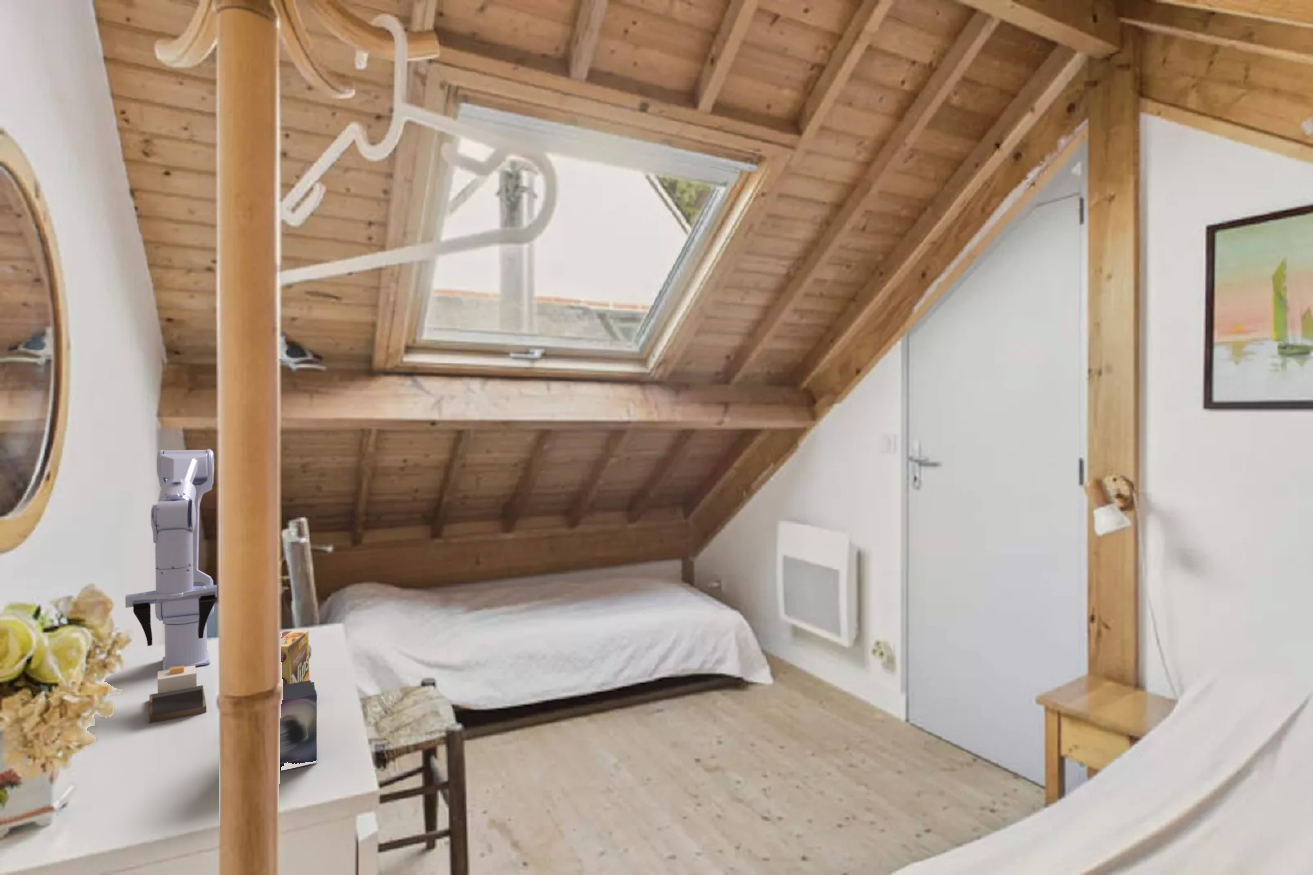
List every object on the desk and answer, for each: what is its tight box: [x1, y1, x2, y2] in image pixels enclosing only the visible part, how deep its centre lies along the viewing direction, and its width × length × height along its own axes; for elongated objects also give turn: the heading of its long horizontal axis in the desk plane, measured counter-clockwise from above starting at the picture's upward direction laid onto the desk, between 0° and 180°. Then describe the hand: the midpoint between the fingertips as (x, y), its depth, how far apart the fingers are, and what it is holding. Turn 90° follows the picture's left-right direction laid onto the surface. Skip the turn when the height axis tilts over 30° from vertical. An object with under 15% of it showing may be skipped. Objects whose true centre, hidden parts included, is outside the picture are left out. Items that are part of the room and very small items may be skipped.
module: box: [157, 665, 198, 693], centre depth 125 cm, size 5×6×6 cm
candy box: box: [281, 630, 310, 685], centre depth 113 cm, size 9×4×15 cm, turn 8°
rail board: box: [148, 684, 207, 724], centre depth 125 cm, size 12×8×4 cm, turn 35°
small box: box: [280, 679, 318, 772], centre depth 103 cm, size 11×6×10 cm, turn 123°
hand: (175, 640), depth 132 cm, fingers open, 7 cm apart
